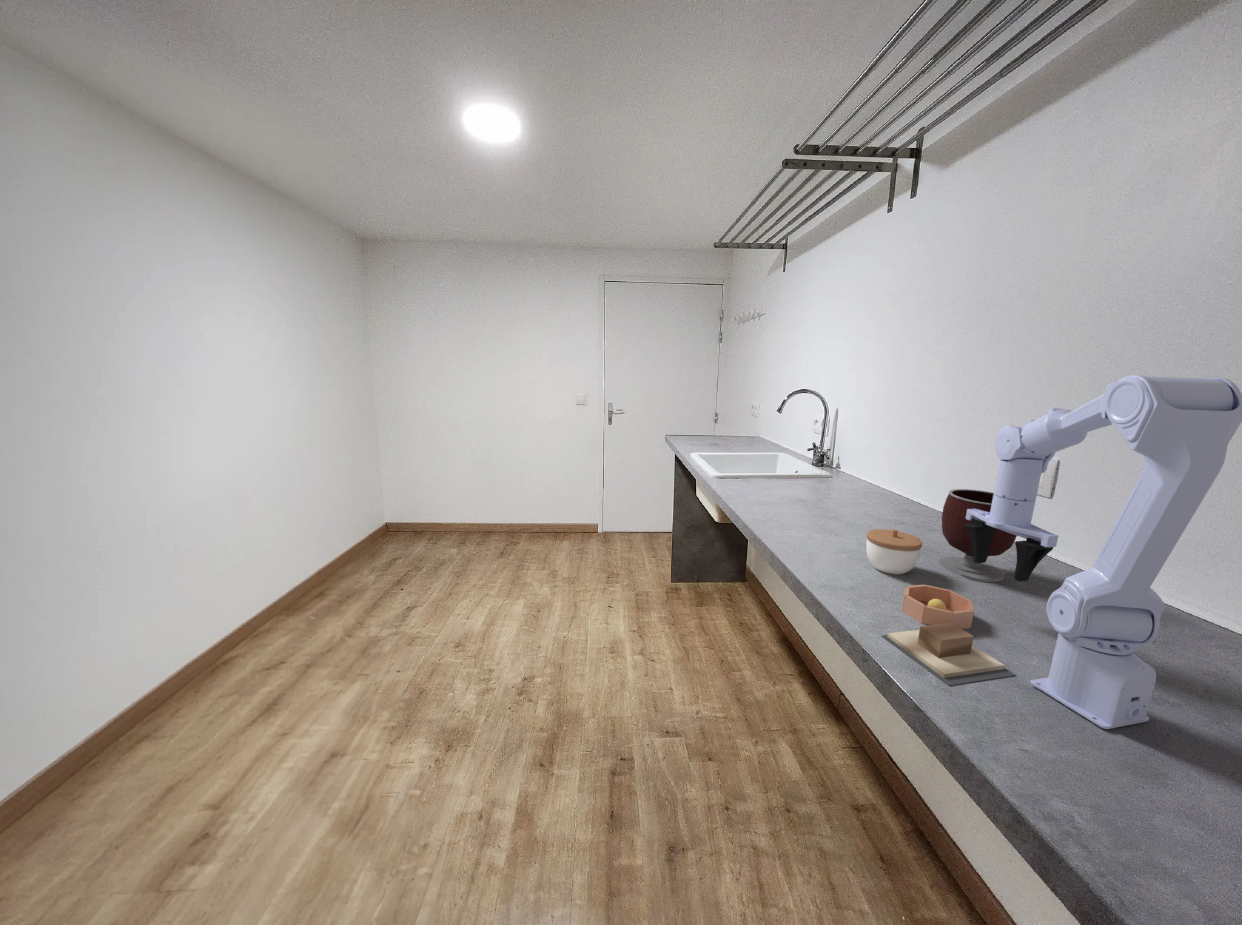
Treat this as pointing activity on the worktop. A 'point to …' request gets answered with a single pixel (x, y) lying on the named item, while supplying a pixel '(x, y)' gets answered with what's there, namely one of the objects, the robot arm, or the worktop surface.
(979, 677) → the mat
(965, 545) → the mate gourd
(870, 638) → the worktop surface
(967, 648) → the cover
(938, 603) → the ball
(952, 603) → the bowl
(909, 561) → the lidded jar
